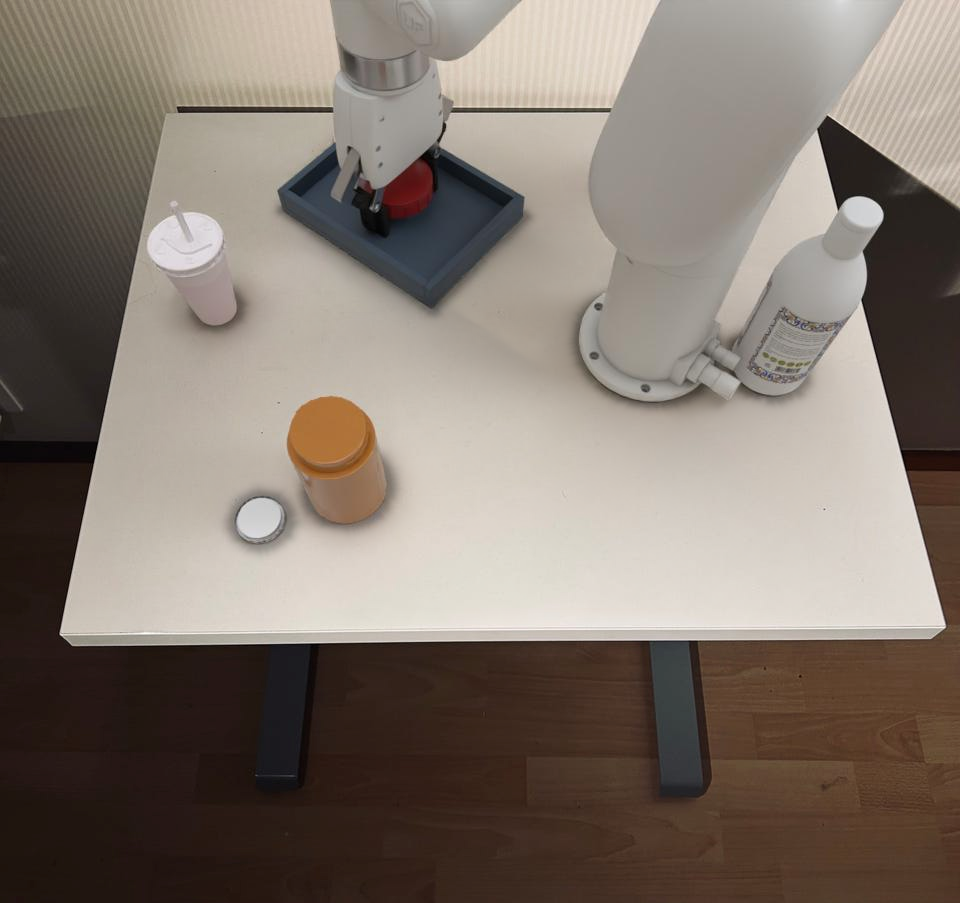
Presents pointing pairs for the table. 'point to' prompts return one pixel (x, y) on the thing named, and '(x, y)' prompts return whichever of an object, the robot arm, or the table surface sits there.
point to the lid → (408, 191)
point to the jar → (337, 459)
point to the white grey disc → (260, 519)
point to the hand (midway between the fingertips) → (400, 205)
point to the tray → (411, 224)
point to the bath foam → (807, 302)
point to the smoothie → (195, 263)
